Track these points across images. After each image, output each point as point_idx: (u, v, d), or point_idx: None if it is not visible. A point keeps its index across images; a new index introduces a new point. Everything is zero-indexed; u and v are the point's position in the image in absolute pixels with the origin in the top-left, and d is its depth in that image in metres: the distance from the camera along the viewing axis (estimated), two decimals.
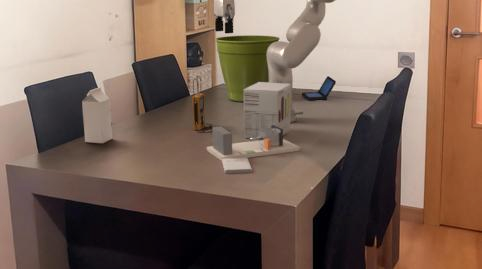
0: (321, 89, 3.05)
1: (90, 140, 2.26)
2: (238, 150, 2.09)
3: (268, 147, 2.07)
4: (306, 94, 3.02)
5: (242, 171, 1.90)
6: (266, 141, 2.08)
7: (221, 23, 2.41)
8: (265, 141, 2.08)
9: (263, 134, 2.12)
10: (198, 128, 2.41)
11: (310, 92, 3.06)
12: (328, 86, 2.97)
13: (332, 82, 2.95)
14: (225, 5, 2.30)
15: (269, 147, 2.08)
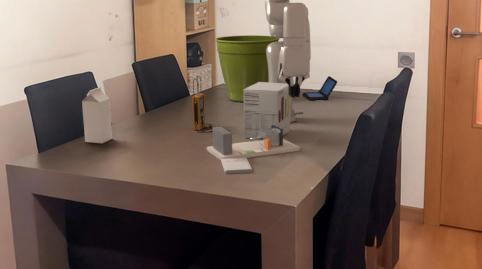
0: (322, 89, 3.05)
1: (90, 140, 2.26)
2: (238, 150, 2.09)
3: (268, 147, 2.07)
4: (307, 94, 3.02)
5: (242, 171, 1.90)
6: (266, 141, 2.08)
7: None
8: (265, 141, 2.08)
9: (263, 134, 2.12)
10: (198, 128, 2.41)
11: (311, 92, 3.06)
12: (329, 86, 2.98)
13: (333, 82, 2.95)
14: None
15: (269, 147, 2.08)
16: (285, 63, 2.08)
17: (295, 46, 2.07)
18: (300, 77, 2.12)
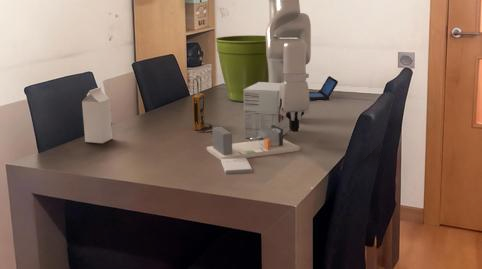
0: (322, 89, 3.05)
1: (90, 140, 2.26)
2: (238, 150, 2.09)
3: (268, 147, 2.07)
4: None
5: (242, 171, 1.90)
6: (266, 141, 2.08)
7: None
8: (265, 141, 2.08)
9: (263, 134, 2.12)
10: (198, 128, 2.41)
11: (311, 92, 3.06)
12: (330, 86, 2.98)
13: (334, 82, 2.95)
14: None
15: (269, 147, 2.08)
16: (285, 99, 2.11)
17: (295, 82, 2.10)
18: (299, 112, 2.15)
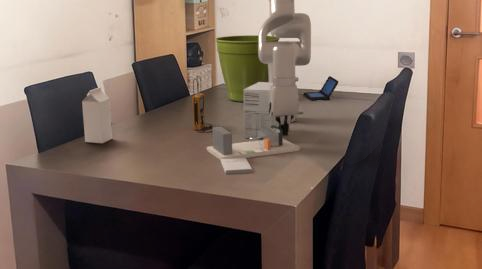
0: (323, 89, 3.05)
1: (90, 140, 2.26)
2: (238, 150, 2.09)
3: (268, 147, 2.07)
4: (308, 94, 3.02)
5: (242, 171, 1.90)
6: (266, 141, 2.08)
7: None
8: (265, 141, 2.08)
9: (263, 134, 2.12)
10: (198, 128, 2.41)
11: (312, 92, 3.06)
12: (330, 86, 2.98)
13: (334, 82, 2.95)
14: None
15: (269, 147, 2.08)
16: (274, 103, 2.10)
17: (284, 86, 2.09)
18: (289, 116, 2.14)
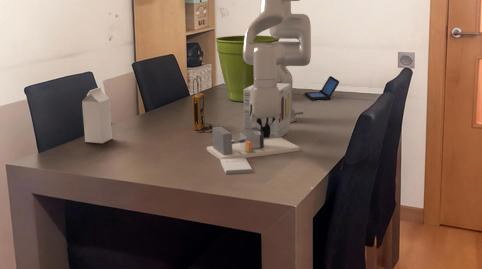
0: (323, 89, 3.05)
1: (90, 140, 2.26)
2: (238, 150, 2.09)
3: (249, 149, 2.05)
4: (309, 94, 3.02)
5: (243, 171, 1.90)
6: (247, 143, 2.05)
7: None
8: (246, 143, 2.06)
9: (244, 136, 2.10)
10: (198, 128, 2.41)
11: (312, 92, 3.06)
12: (331, 86, 2.98)
13: (335, 82, 2.95)
14: None
15: (250, 149, 2.05)
16: (255, 105, 2.07)
17: (265, 88, 2.06)
18: (270, 118, 2.12)
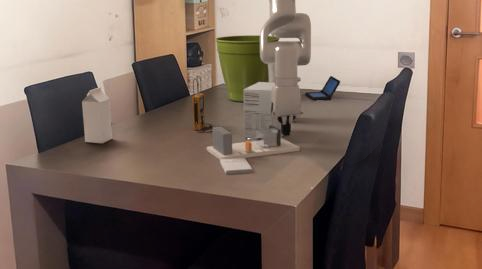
0: (324, 89, 3.05)
1: (90, 140, 2.26)
2: (238, 150, 2.09)
3: (249, 149, 2.05)
4: (310, 94, 3.02)
5: (243, 171, 1.90)
6: (247, 143, 2.05)
7: None
8: (246, 143, 2.06)
9: (261, 134, 2.12)
10: (198, 128, 2.41)
11: (313, 92, 3.06)
12: (332, 86, 2.98)
13: (336, 82, 2.96)
14: None
15: (250, 149, 2.05)
16: (276, 103, 2.11)
17: (286, 86, 2.09)
18: (291, 116, 2.14)
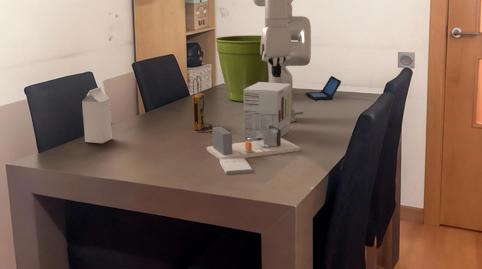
0: (325, 89, 3.05)
1: (90, 140, 2.26)
2: (238, 150, 2.09)
3: (249, 149, 2.05)
4: (310, 94, 3.02)
5: (243, 171, 1.90)
6: (247, 143, 2.05)
7: None
8: (246, 143, 2.06)
9: (261, 134, 2.12)
10: (198, 128, 2.41)
11: (314, 92, 3.06)
12: (333, 86, 2.98)
13: (337, 82, 2.96)
14: None
15: (250, 149, 2.05)
16: (267, 44, 2.13)
17: (277, 27, 2.11)
18: (281, 57, 2.17)
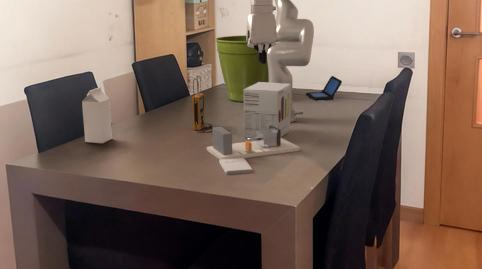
0: (325, 89, 3.05)
1: (90, 140, 2.26)
2: (238, 150, 2.09)
3: (249, 149, 2.05)
4: (311, 94, 3.02)
5: (243, 172, 1.90)
6: (247, 143, 2.05)
7: None
8: (246, 143, 2.06)
9: (261, 134, 2.12)
10: (198, 128, 2.41)
11: (314, 92, 3.06)
12: (333, 86, 2.98)
13: (338, 82, 2.96)
14: None
15: (250, 149, 2.05)
16: (252, 30, 2.16)
17: (262, 13, 2.15)
18: (267, 44, 2.20)
